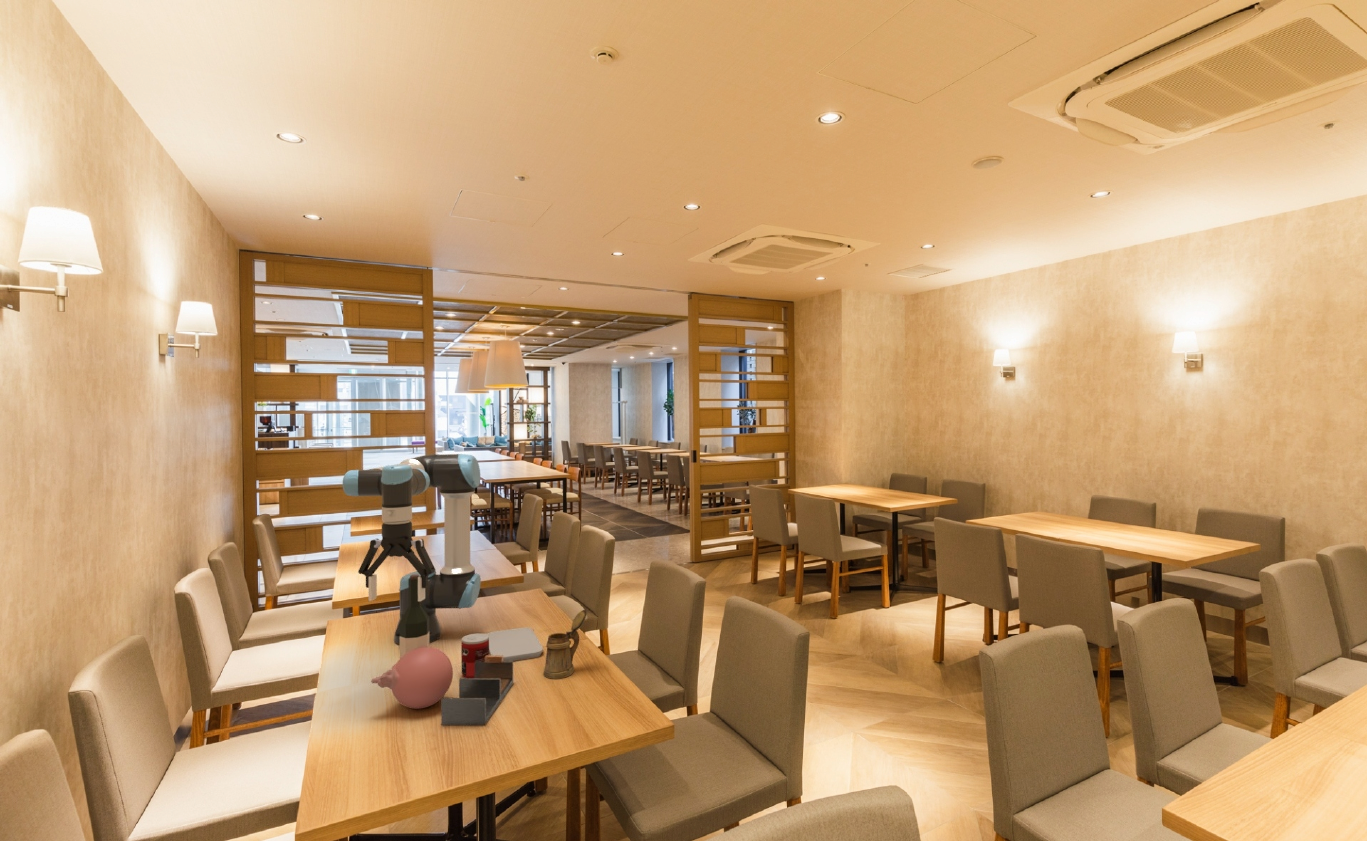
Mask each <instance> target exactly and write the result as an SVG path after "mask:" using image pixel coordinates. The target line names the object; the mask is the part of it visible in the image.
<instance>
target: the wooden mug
mask: <svg viewBox="0 0 1367 841" xmlns="http://www.w3.org/2000/svg"><path fill="white" fill-rule="evenodd" d="M587 611H588V610H587V608H586V609H582V610H580V611H579V612H577V614H576V615H575V617H574V619H573V621H572V623H571V629H570V630H568V631H566V632H565V633H563V632H557V633H556V632H555V633H552V634H549V635H548V637H547V641H546V644H545V647H546V655H545V664H544V668H543V672H542V674H543V676H544V677H545V678H548V679H551V680H553V679H554V680H558V679H559V680H560V679H564V678H567V677H569V676H571V675H573V674H574V671H575V667H574V663H573V659H574V655H575V653H576V652H577V649H578V647H579V644H580V634H579V632H578V630H579V629H580V628H581V627H582V626H583V624H584V622H585V621H586V618H587V614H588V613H587ZM571 640H573V643H572V641H571ZM571 643H572V646H571Z"/></svg>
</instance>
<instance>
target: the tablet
mask: <svg viewBox="0 0 1367 841" xmlns="http://www.w3.org/2000/svg"><path fill="white" fill-rule="evenodd" d="M485 634H486V635H488V636H489V655H503V661H513V662H514V661H515V662H516V661H522V660H528V659H533V658H534V659H535V658H538V657H540V656H541V655H542V653H543V652H544V647H543V646H542V643H541V642H540V640H539V639H538V636H537V635H536V634H535V631H534V630H533V628H530V627H519V628H512V629H511V628H510V629H504V630H495V631H490V632H487V633H485Z"/></svg>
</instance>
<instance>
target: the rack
mask: <svg viewBox="0 0 1367 841" xmlns="http://www.w3.org/2000/svg"><path fill="white" fill-rule="evenodd" d="M513 685H514V661H503V655H491V654H489V655H486V656H485V661H475V678H465V677H462V678H461V677H460V678H459V680H458V688H459V689H458V693H459V694H458V697H442V698H441V699H440V700H441V702H440V703H441V705H440V707H441V708H440V712H441V714H440V715H441V719H440V720H441V721H440V722H441V723H440V725H441V726H486V725H487V723H488V722H489V720H490V719H491V717H492V715H494V713H495V711H496V710H497V708H498V707H499V705H500V704H501V702H502V701H503V699H504V698H505V697H506V695H507V694H508V692H509V690H510V689H511V688H512V686H513Z"/></svg>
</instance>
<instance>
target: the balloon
mask: <svg viewBox="0 0 1367 841" xmlns="http://www.w3.org/2000/svg"><path fill="white" fill-rule="evenodd" d="M453 676H454V670H453V665H452V662H451V659H450V658H449V656H447V654H446V653H445V652H444V651H442V650H441V649H440V648H437V647H432V646H429V647H419V648H415V649H413V650H411V651H409V652H407V653H406V654H405V655H403V656H402V657H401V658H400V657H399V659H398V660H397V662H396V663H395V664H393V666H392V667H391V669H389V670H387V671H386V672H384V673H383V674H382V675H380V676H376V677H375V678H372V679H371V680H370V682H371V684H377V686H378V687H380V688H382V689H384V688H388V689H390V690H391V692H392V695H393V696H394V698H395V700H396V701H397V702H398V703H400V704H401V706H402V705H403V706H404V707H406V708H409V709H425V708H429V707H431V706H433V705H435V704H436V703H437V702H439V701H440V700H441V699H442V698H444V696H445V695H446V693H448V691H449V689H450V687H451V684H452V682H453Z"/></svg>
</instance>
